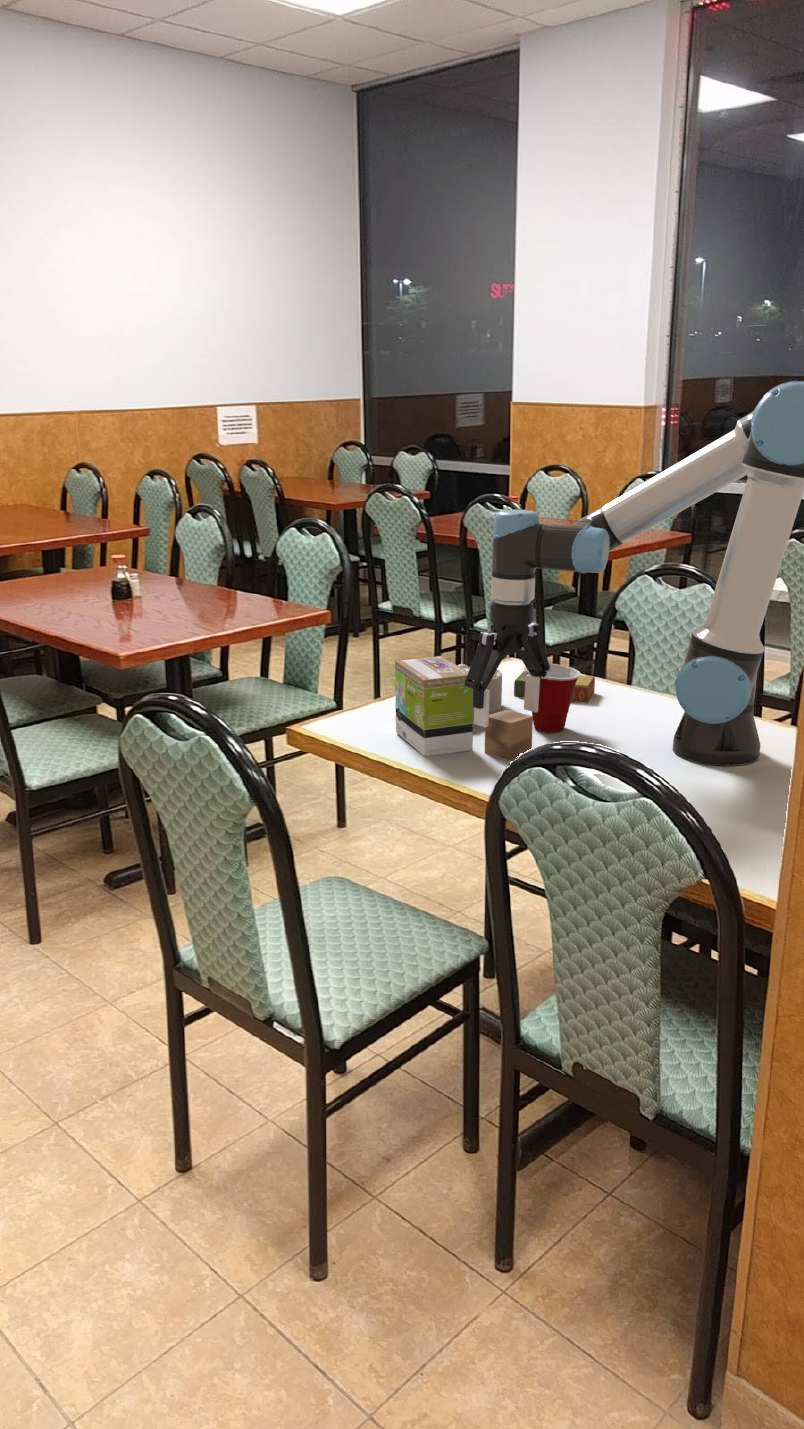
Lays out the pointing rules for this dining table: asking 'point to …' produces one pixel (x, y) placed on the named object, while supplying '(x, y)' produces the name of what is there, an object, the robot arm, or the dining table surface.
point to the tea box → (433, 706)
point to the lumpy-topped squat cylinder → (492, 690)
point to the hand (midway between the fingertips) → (506, 717)
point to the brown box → (508, 734)
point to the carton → (580, 693)
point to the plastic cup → (554, 698)
